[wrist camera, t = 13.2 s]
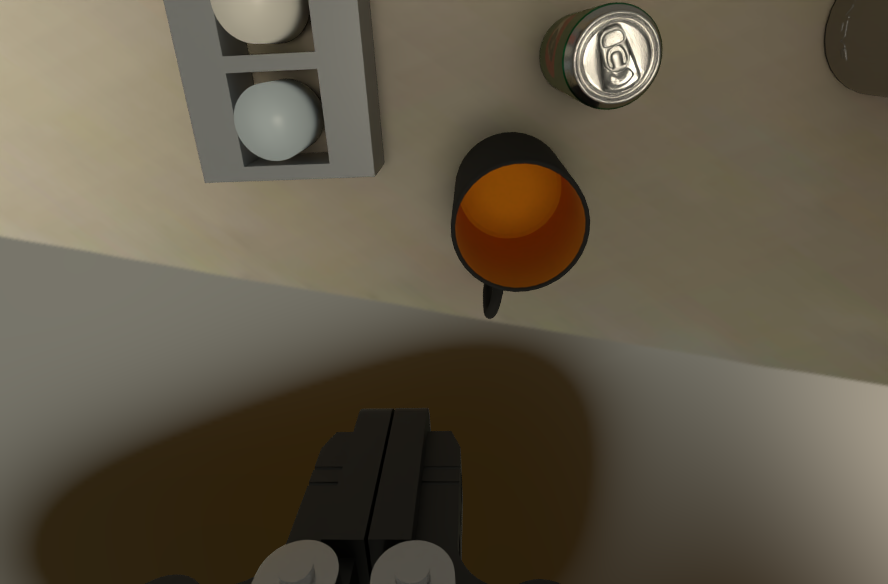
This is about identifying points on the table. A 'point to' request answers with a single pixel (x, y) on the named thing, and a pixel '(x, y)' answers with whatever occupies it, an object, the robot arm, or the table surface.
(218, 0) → the beige rounded block
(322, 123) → the pale blue rounded block
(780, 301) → the table surface
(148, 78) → the table surface
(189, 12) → the three-slot peg holder
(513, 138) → the mug
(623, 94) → the soda can
